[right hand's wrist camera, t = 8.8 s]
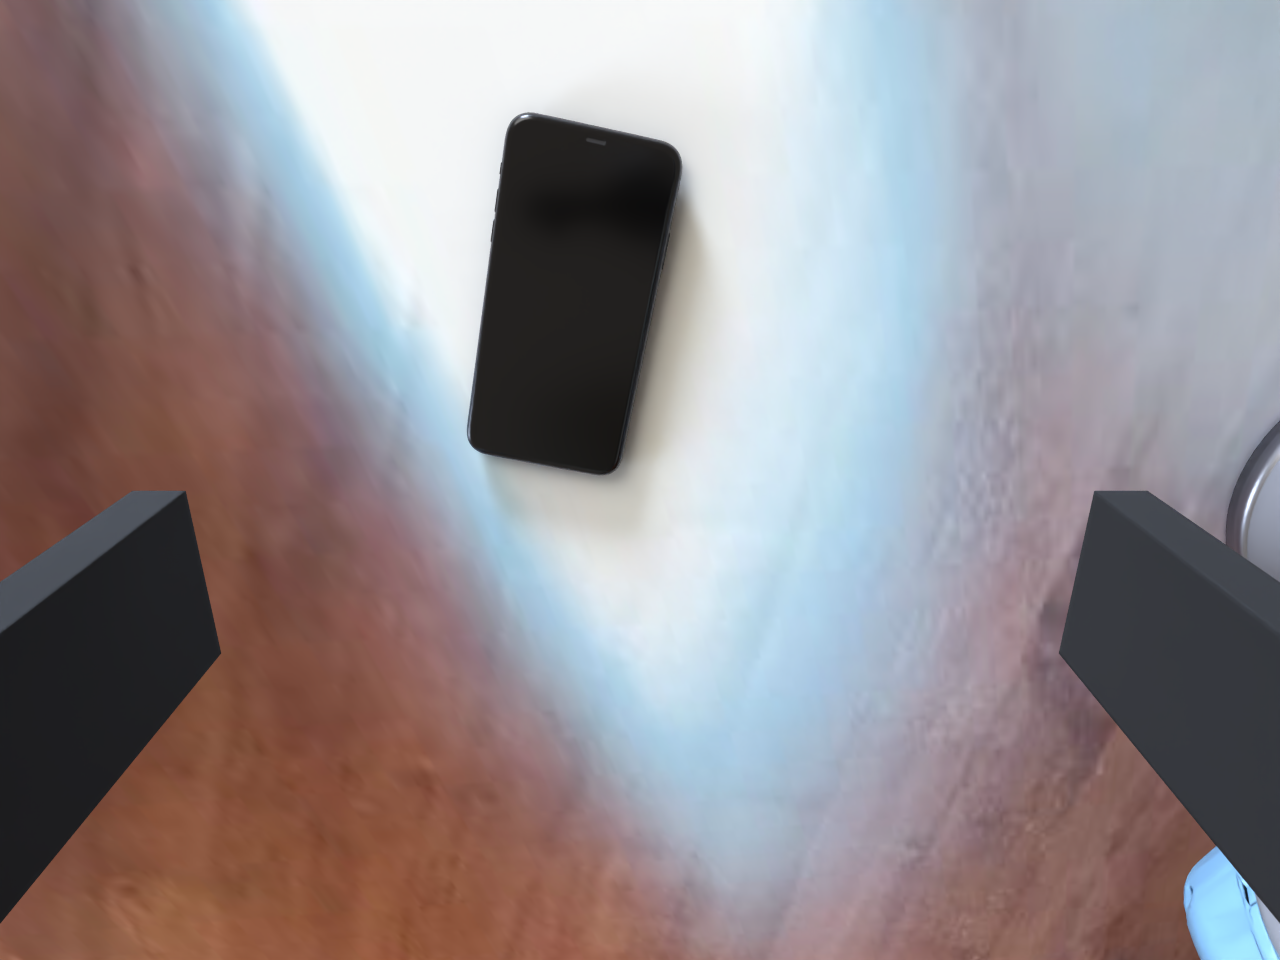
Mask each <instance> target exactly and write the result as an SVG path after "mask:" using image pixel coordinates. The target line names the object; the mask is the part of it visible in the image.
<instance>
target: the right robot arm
mask: <svg viewBox="0 0 1280 960" xmlns="http://www.w3.org/2000/svg"><path fill="white" fill-rule="evenodd" d="M1226 543H1227V545H1225V544H1224V543H1222V542H1221V541H1219V540H1218V539H1216V538H1215V537H1214V536H1212V535H1211V534H1209V533H1208V532H1206V531H1205V530H1203V529H1202V528H1200V527H1199V526H1198V525H1196V524H1195V523H1193V522H1192V521H1190V520H1189V519H1187V518H1186V517H1185V516H1183V515H1182V514H1180V513H1179V512H1177V511H1176V510H1174V509H1173V508H1171V507H1170V506H1169V505H1167V504H1166V503H1164V502H1163V501H1161V500H1160V499H1158V498H1157V497H1156V496H1154V495H1153V494H1151V493H1150V492H1148V491H1094V495H1093V500H1092V504H1091V509H1090V513H1089V518H1088V523H1087V527H1086V532H1085V536H1084V541H1083V545H1082V550H1081V555H1080V559H1079V564H1078V568H1077V573H1076V577H1075V582H1074V587H1073V591H1072V596H1071V600H1070V605H1069V609H1068V614H1067V619H1066V623H1065V628H1064V632H1063V637H1062V641H1061V646H1060V651H1059V654H1060V655H1061V656H1062V658H1063V659H1064V660H1065V661H1066V663H1067V664H1068V665H1069V666H1070V668H1071V669H1072V670H1073V671H1074V672H1075V674H1076V675H1077V676H1078V677H1079V679H1080V680H1081V681H1082V682H1083V683H1084V685H1085V686H1086V687H1087V688H1088V690H1089V691H1090V692H1091V693H1092V694H1093V696H1094V697H1095V698H1096V699H1097V701H1098V702H1099V703H1100V704H1101V705H1102V707H1103V708H1104V709H1105V710H1106V712H1107V713H1108V714H1109V715H1110V716H1111V718H1112V719H1113V720H1114V721H1115V723H1116V724H1117V725H1118V726H1119V727H1120V729H1121V730H1122V731H1123V732H1124V734H1125V735H1126V736H1127V737H1128V738H1129V740H1130V741H1131V742H1132V743H1133V745H1134V746H1135V747H1136V748H1137V749H1138V751H1139V752H1140V753H1141V754H1142V756H1143V757H1144V758H1145V759H1146V760H1147V762H1148V763H1149V764H1150V765H1151V767H1152V768H1153V769H1154V770H1155V771H1156V773H1157V774H1158V775H1159V776H1160V778H1161V779H1162V780H1163V781H1164V782H1165V784H1166V785H1167V786H1168V787H1169V789H1170V790H1171V791H1172V792H1173V793H1174V795H1175V796H1176V797H1177V798H1178V800H1179V801H1180V802H1181V803H1182V804H1183V806H1184V807H1185V808H1186V809H1187V811H1188V812H1189V813H1190V814H1191V815H1192V817H1193V818H1194V819H1195V820H1196V822H1197V823H1198V824H1199V825H1200V826H1201V828H1202V829H1203V830H1204V831H1205V833H1206V834H1207V835H1208V836H1209V837H1210V839H1211V840H1212V841H1213V842H1214V844H1215V845H1216V847H1215V848H1214V849H1212V850H1211V851H1210V852H1209V853H1208V854H1207V855H1205V856H1204V857H1203V858H1202V859H1201V860H1200V861H1199V862H1198V863H1197V864H1196V865H1195V866H1194V867H1193V868H1192V870H1191V871H1190V873H1189V875H1188V877H1187V879H1186V882H1185V886H1184V907H1185V911H1186V918H1187V925H1188V928H1189V931H1190V934H1191V937H1192V940H1193V943H1194V945H1195V948H1196V950H1197V952H1198V955H1199V957H1200V959H1201V960H1280V421H1279V422H1278V423H1277V424H1276V425H1275V426H1274V427H1273V428H1272V430H1271V431H1270V432H1269V433H1268V434H1267V435H1266V436H1265V438H1264V439H1263V440H1262V441H1261V443H1260V444H1259V445H1258V447H1257V448H1256V449H1255V451H1254V452H1253V454H1252V456H1251V457H1250V459H1249V460H1248V462H1247V463H1246V465H1245V467H1244V469H1243V471H1242V473H1241V475H1240V477H1239V479H1238V482H1237V484H1236V486H1235V489H1234V492H1233V495H1232V498H1231V501H1230V505H1229V510H1228V515H1227V524H1226ZM220 654H221V651H220V646H219V641H218V637H217V632H216V628H215V623H214V619H213V614H212V609H211V605H210V600H209V596H208V591H207V587H206V582H205V577H204V573H203V568H202V564H201V559H200V555H199V550H198V545H197V541H196V536H195V532H194V527H193V523H192V518H191V513H190V509H189V504H188V500H187V495H186V491H132V492H130V493H129V494H127V495H126V496H124V497H123V498H122V499H120V500H119V501H117V502H116V503H114V504H113V505H111V506H110V507H109V508H107V509H106V510H104V511H103V512H101V513H100V514H98V515H97V516H95V517H94V518H93V519H91V520H90V521H88V522H87V523H85V524H84V525H82V526H81V527H80V528H78V529H77V530H75V531H74V532H72V533H71V534H69V535H68V536H66V537H65V538H64V539H62V540H61V541H59V542H58V543H56V544H55V545H53V546H52V547H51V548H49V549H48V550H46V551H45V552H43V553H42V554H40V555H39V556H37V557H36V558H35V559H33V560H32V561H30V562H29V563H27V564H26V565H24V566H23V567H21V568H20V569H19V570H17V571H16V572H14V573H13V574H11V575H10V576H8V577H7V578H6V579H4V580H3V581H1V582H0V923H1V922H2V921H3V919H4V918H5V917H6V916H7V915H8V913H9V912H10V911H11V910H12V908H13V907H14V906H15V905H16V904H17V902H18V901H19V900H20V899H21V897H22V896H23V895H24V894H25V893H26V891H27V890H28V889H29V888H30V886H31V885H32V884H33V883H34V882H35V880H36V879H37V878H38V877H39V875H40V874H41V873H42V872H43V871H44V869H45V868H46V867H47V866H48V864H49V863H50V862H51V861H52V860H53V858H54V857H55V856H56V855H57V853H58V852H59V851H60V850H61V848H62V847H63V846H64V845H65V844H66V842H67V841H68V840H69V839H70V837H71V836H72V835H73V834H74V833H75V831H76V830H77V829H78V828H79V826H80V825H81V824H82V823H83V822H84V820H85V819H86V818H87V817H88V815H89V814H90V813H91V812H92V811H93V809H94V808H95V807H96V806H97V804H98V803H99V802H100V801H101V800H102V798H103V797H104V796H105V795H106V793H107V792H108V791H109V790H110V789H111V787H112V786H113V785H114V784H115V782H116V781H117V780H118V779H119V778H120V776H121V775H122V774H123V773H124V771H125V770H126V769H127V768H128V767H129V765H130V764H131V763H132V762H133V760H134V759H135V758H136V757H137V756H138V754H139V753H140V752H141V751H142V749H143V748H144V747H145V746H146V745H147V743H148V742H149V741H150V740H151V738H152V737H153V736H154V735H155V734H156V732H157V731H158V730H159V729H160V727H161V726H162V725H163V724H164V723H165V721H166V720H167V719H168V718H169V716H170V715H171V714H172V713H173V712H174V710H175V709H176V708H177V707H178V705H179V704H180V703H181V702H182V701H183V699H184V698H185V697H186V696H187V694H188V693H189V692H190V691H191V690H192V688H193V687H194V686H195V685H196V683H197V682H198V681H199V680H200V679H201V677H202V676H203V675H204V674H205V672H206V671H207V670H208V669H209V668H210V666H211V665H212V664H213V663H214V661H215V660H216V659H217V658H218V656H219V655H220Z"/></svg>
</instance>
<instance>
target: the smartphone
mask: <svg viewBox="0 0 1280 960" xmlns="http://www.w3.org/2000/svg"><path fill="white" fill-rule="evenodd" d="M681 174H682V160H681V157H680V154H679V152H678V151H677V150H676V149H675V148H674V147H673V146H672V145H671V144H669V143H667V142H664V141H661V140H657V139H652V138H648V137H643V136H639V135H634V134H630V133H625V132H621V131H616V130H612V129H607V128H603V127H598V126H594V125H589V124H584V123H580V122H575V121H571V120H566V119H561V118H557V117H552V116H547V115H543V114H538V113H523V114H520V115H518V116H516V117H515V118H514V119H513V120H512V121H511V123H510V124H509V126H508V129H507V132H506V136H505V143H504V150H503V158H502V162H501V167H500V181H499V188H498V190H497V197H496V205H495V219H494V221H493V228H492V235H491V249H490V257H489V264H488V272H487V279H486V287H485V295H484V302H483V310H482V317H481V325H480V333H479V340H478V348H477V355H476V363H475V371H474V378H473V386H472V393H471V401H470V409H469V416H468V424H467V437H468V440H469V443H470V444H471V446H472V447H473V448H474V449H475V450H477V451H479V452H481V453H483V454H487V455H492V456H497V457H502V458H507V459H513V460H518V461H523V462H529V463H534V464H539V465H544V466H550V467H555V468H560V469H566V470H571V471H577V472H582V473H588V474H593V475H607V474H610V473H612V472H614V471H615V470H616V469H617V468H618V466H619V465H620V463H621V460H622V457H623V453H624V448H625V443H626V438H627V434H628V429H629V424H630V419H631V414H632V410H633V405H634V400H635V395H636V391H637V386H638V381H639V376H640V371H641V367H642V362H643V357H644V352H645V347H646V343H647V338H648V333H649V328H650V323H651V319H652V314H653V309H654V304H655V299H656V295H657V290H658V285H659V280H660V276H661V271H662V269H663V265H664V260H665V255H666V250H667V246H668V241H669V236H670V233H669V232H670V228H671V223H672V218H673V213H674V208H675V204H676V199H677V194H678V189H679V184H680V180H681Z"/></svg>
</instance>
